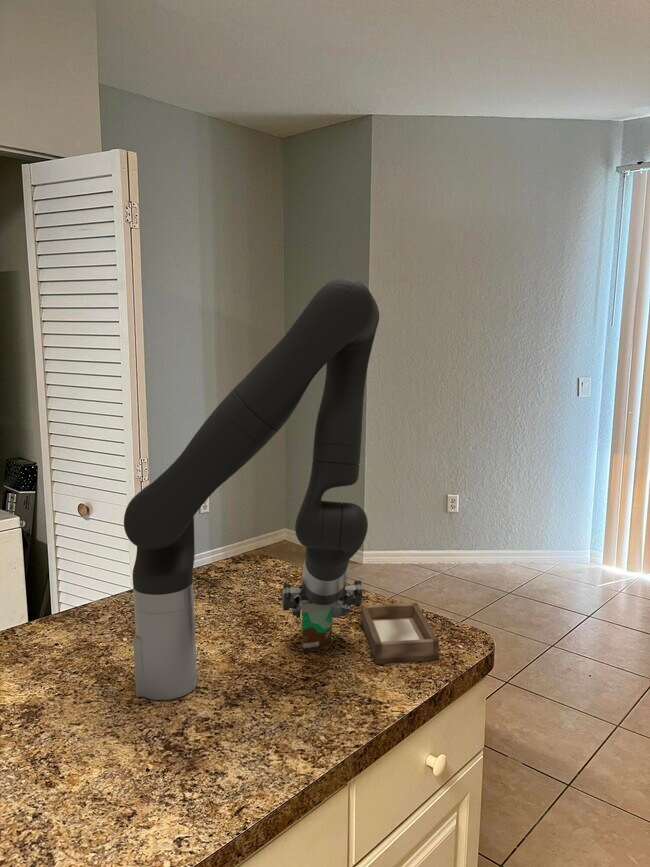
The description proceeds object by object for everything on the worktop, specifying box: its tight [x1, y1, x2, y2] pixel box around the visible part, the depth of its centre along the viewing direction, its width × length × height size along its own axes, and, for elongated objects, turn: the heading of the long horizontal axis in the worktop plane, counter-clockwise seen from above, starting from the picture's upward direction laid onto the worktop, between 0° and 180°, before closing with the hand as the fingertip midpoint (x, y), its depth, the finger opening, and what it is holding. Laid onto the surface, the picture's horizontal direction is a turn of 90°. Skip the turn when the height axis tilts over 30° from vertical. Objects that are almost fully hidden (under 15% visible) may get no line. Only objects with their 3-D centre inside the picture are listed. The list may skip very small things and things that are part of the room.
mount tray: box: [360, 602, 440, 665], centre depth 127 cm, size 11×17×4 cm, turn 5°
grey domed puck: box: [332, 605, 350, 618], centre depth 141 cm, size 6×6×3 cm
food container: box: [301, 600, 333, 653], centre depth 127 cm, size 12×6×10 cm, turn 179°
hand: (320, 612), depth 129 cm, fingers open, 8 cm apart
